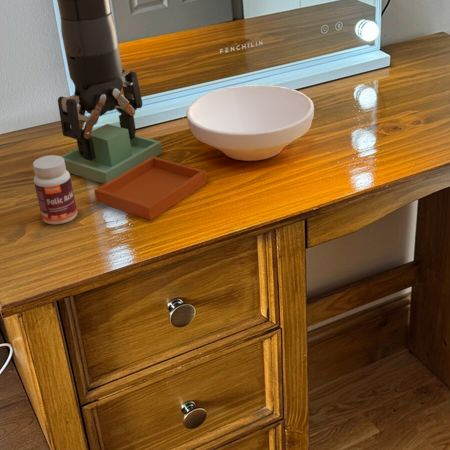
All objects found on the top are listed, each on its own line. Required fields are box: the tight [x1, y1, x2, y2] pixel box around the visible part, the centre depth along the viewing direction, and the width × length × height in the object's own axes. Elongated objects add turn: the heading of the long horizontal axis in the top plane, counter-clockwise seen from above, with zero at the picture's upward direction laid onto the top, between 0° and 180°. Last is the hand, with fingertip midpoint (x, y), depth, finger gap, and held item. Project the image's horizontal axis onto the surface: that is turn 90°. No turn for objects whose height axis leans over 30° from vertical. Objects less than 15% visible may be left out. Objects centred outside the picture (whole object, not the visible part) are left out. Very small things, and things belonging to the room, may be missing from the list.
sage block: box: [90, 123, 132, 167], centre depth 118 cm, size 4×4×4 cm
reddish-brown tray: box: [94, 156, 208, 221], centre depth 109 cm, size 12×10×2 cm
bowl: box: [185, 84, 315, 162], centre depth 119 cm, size 20×20×7 cm
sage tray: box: [60, 134, 164, 185], centre depth 118 cm, size 12×10×2 cm
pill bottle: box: [32, 154, 78, 225], centre depth 102 cm, size 5×5×8 cm
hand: (109, 148), depth 118 cm, fingers open, 8 cm apart
